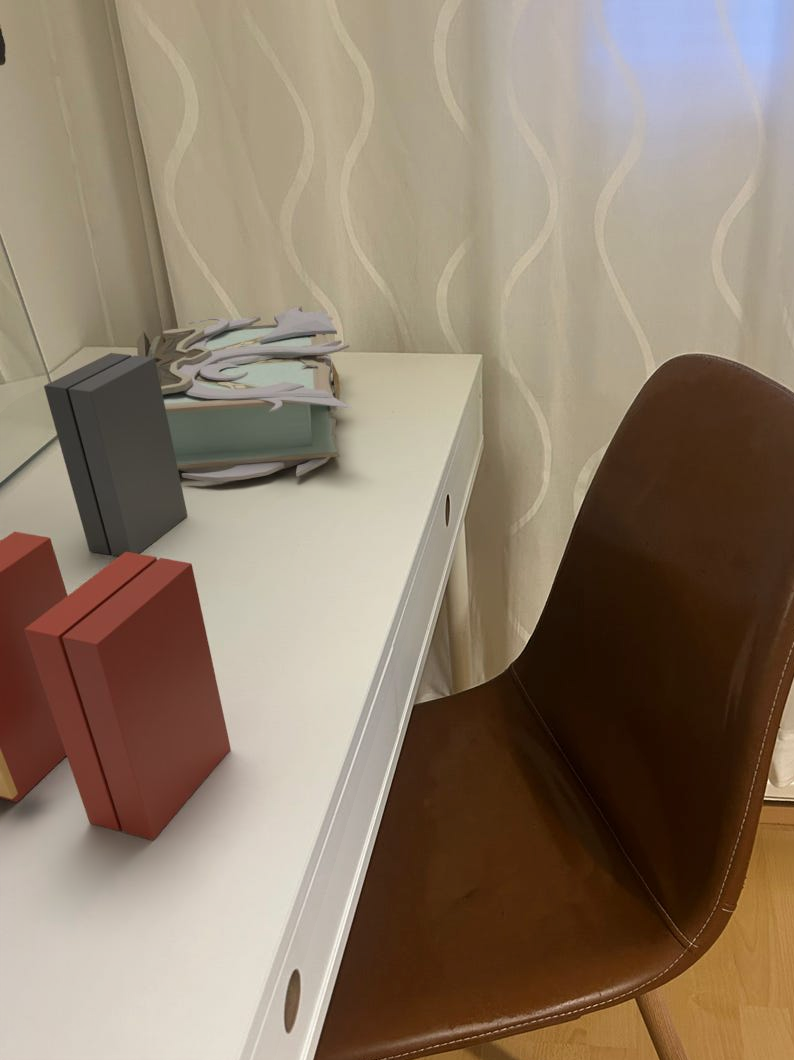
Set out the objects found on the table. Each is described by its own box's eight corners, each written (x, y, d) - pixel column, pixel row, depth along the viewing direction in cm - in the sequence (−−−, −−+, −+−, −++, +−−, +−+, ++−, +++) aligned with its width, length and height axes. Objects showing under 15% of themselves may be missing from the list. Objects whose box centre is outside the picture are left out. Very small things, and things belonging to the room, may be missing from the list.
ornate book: (153, 396, 111) (112, 503, 86) (135, 311, 106) (86, 398, 81) (349, 383, 114) (366, 482, 89) (342, 298, 109) (356, 379, 84)
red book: (-22, 796, 56) (-103, 605, 48) (72, 710, 62) (13, 531, 55) (15, 806, 55) (-61, 614, 48) (106, 718, 61) (51, 537, 54)
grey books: (89, 551, 80) (43, 385, 72) (147, 509, 86) (110, 352, 78) (132, 559, 78) (90, 391, 70) (188, 515, 85) (155, 357, 77)
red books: (89, 823, 54) (23, 628, 46) (172, 735, 60) (125, 551, 53) (153, 841, 53) (96, 644, 45) (231, 748, 59) (192, 562, 52)
